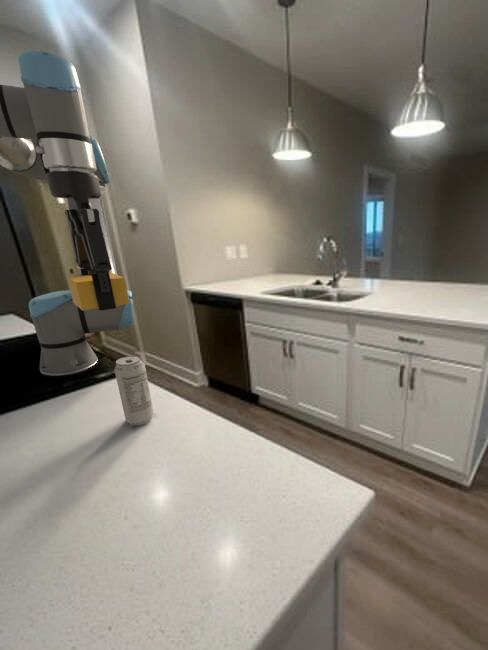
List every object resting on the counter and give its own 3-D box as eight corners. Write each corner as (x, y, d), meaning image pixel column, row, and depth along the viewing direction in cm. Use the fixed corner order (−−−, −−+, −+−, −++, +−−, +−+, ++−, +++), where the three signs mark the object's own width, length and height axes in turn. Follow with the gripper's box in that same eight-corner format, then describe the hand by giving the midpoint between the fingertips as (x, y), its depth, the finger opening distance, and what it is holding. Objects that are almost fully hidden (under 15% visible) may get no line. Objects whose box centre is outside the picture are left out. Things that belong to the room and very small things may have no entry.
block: (73, 303, 67) (66, 277, 65) (117, 297, 72) (112, 272, 70) (82, 310, 61) (75, 282, 59) (129, 303, 66) (124, 277, 64)
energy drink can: (150, 410, 84) (139, 353, 78) (157, 421, 79) (146, 361, 74) (123, 418, 80) (110, 359, 75) (129, 430, 76) (115, 367, 70)
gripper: (36, 175, 63) (68, 299, 72) (56, 163, 48) (93, 319, 57) (83, 178, 67) (107, 294, 76) (113, 168, 53) (139, 311, 62)
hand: (101, 304), depth 67 cm, fingers closed on block, 8 cm apart
